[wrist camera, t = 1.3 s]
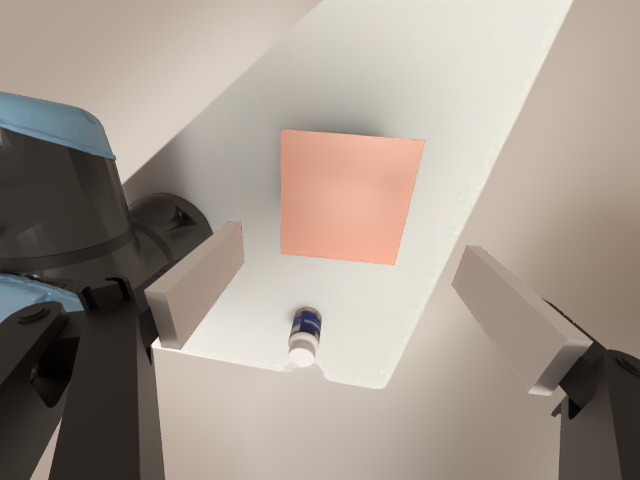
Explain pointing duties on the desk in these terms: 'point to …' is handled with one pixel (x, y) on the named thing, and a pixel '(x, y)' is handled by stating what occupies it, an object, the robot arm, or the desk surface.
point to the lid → (346, 194)
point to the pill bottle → (304, 337)
